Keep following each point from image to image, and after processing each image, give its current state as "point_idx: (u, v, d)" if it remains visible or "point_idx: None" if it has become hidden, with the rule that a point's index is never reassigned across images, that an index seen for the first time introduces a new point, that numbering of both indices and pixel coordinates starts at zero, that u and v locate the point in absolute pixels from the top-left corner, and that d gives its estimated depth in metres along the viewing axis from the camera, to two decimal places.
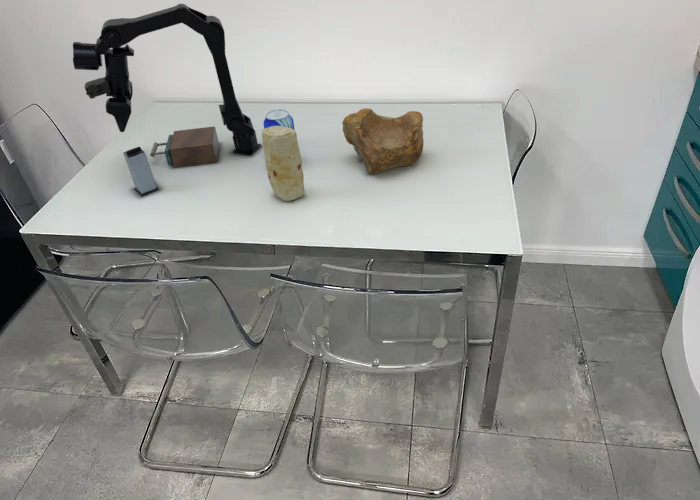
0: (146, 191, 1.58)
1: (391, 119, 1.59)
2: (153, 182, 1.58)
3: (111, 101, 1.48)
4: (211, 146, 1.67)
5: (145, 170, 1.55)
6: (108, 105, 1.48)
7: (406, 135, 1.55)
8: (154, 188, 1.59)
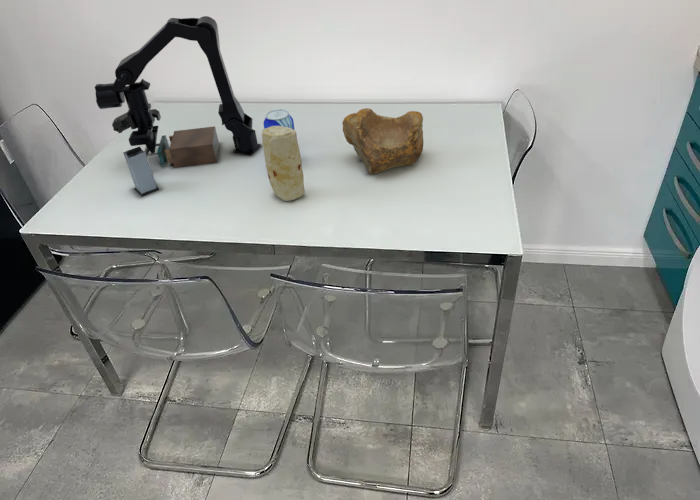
0: (146, 191, 1.58)
1: (391, 119, 1.59)
2: (153, 182, 1.58)
3: (133, 134, 1.60)
4: (211, 146, 1.67)
5: (145, 170, 1.55)
6: (130, 139, 1.59)
7: (406, 135, 1.55)
8: (154, 188, 1.59)
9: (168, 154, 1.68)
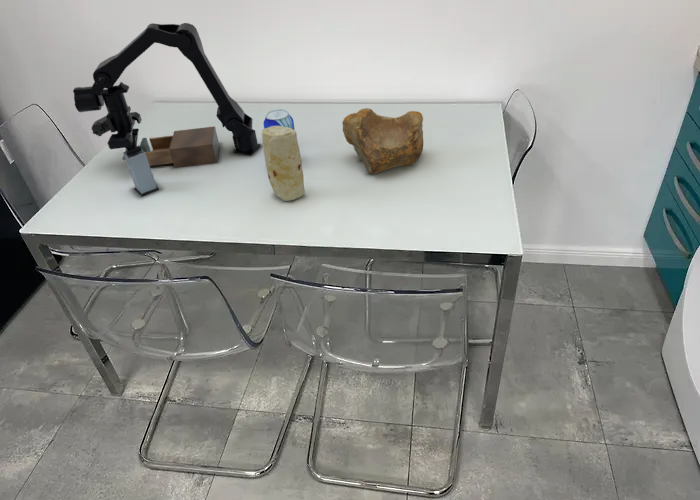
0: (146, 191, 1.58)
1: (391, 119, 1.59)
2: (153, 182, 1.58)
3: (112, 138, 1.60)
4: (211, 146, 1.67)
5: (145, 170, 1.55)
6: (109, 142, 1.59)
7: (406, 135, 1.55)
8: (154, 188, 1.59)
9: (147, 156, 1.68)
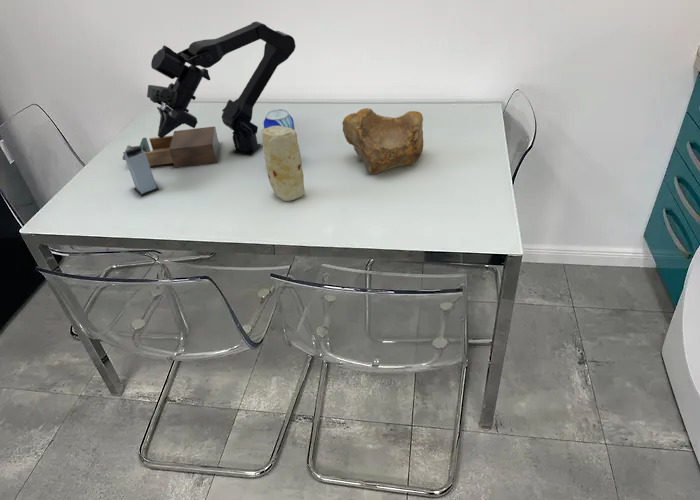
0: (146, 191, 1.58)
1: (391, 119, 1.59)
2: (153, 182, 1.58)
3: (183, 110, 1.48)
4: (211, 146, 1.67)
5: (145, 170, 1.55)
6: (181, 113, 1.47)
7: (406, 135, 1.55)
8: (154, 188, 1.59)
9: (147, 156, 1.68)
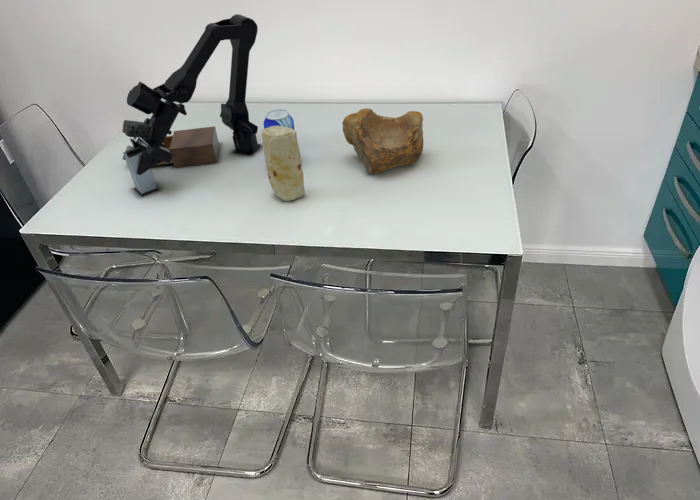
0: (146, 191, 1.58)
1: (391, 119, 1.59)
2: (153, 182, 1.58)
3: (158, 146, 1.48)
4: (211, 146, 1.67)
5: None
6: (156, 149, 1.47)
7: (406, 135, 1.55)
8: (154, 188, 1.59)
9: None
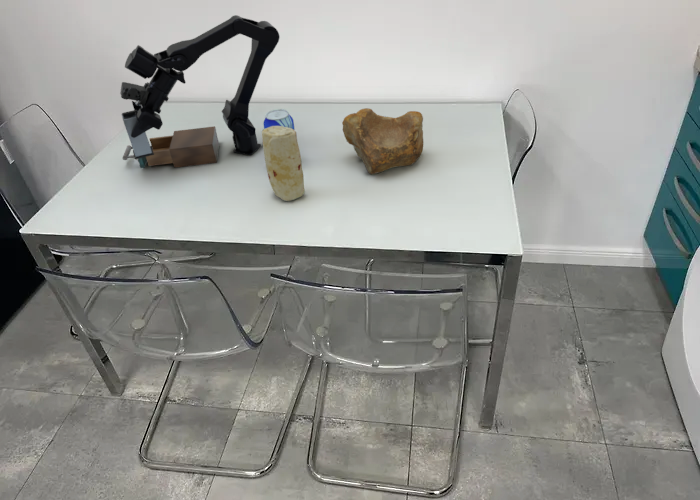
0: (140, 154, 1.61)
1: (391, 119, 1.59)
2: (148, 147, 1.61)
3: (148, 111, 1.49)
4: (211, 146, 1.67)
5: None
6: (144, 114, 1.48)
7: (406, 135, 1.55)
8: (149, 152, 1.62)
9: (147, 156, 1.68)
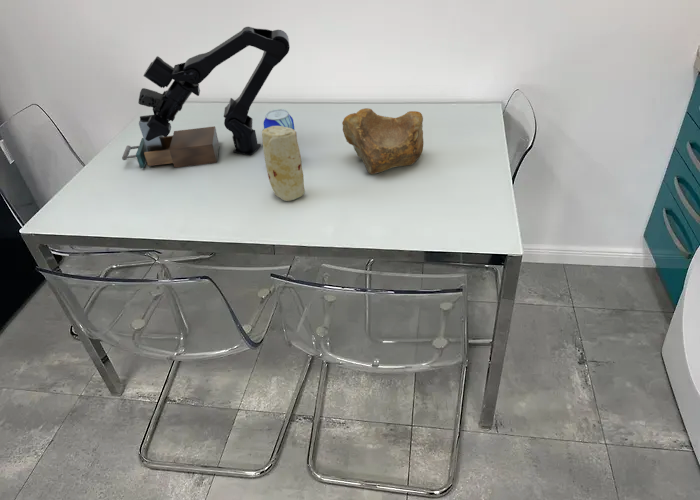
0: None
1: (391, 119, 1.59)
2: None
3: (157, 119, 1.58)
4: (211, 146, 1.67)
5: None
6: (152, 121, 1.57)
7: (406, 135, 1.55)
8: None
9: (147, 156, 1.68)
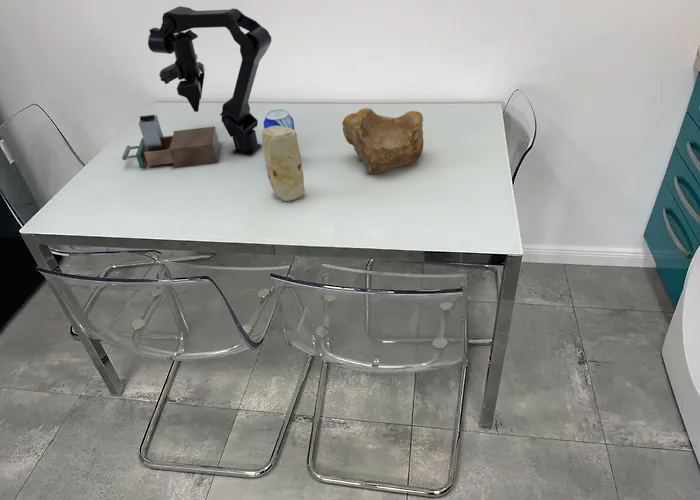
0: None
1: (391, 119, 1.59)
2: None
3: (181, 84, 1.60)
4: (211, 146, 1.67)
5: (153, 137, 1.67)
6: (179, 88, 1.60)
7: (406, 135, 1.55)
8: None
9: (147, 156, 1.68)
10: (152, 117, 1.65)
